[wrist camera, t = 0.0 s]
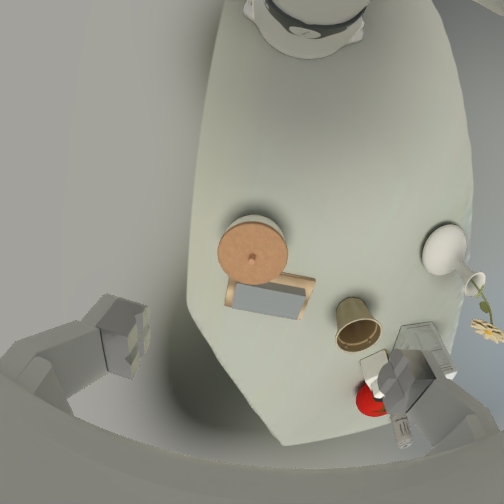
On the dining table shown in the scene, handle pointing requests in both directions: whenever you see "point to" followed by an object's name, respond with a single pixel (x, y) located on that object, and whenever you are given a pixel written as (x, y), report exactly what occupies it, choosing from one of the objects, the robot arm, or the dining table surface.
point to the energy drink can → (401, 430)
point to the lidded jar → (253, 250)
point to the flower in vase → (458, 271)
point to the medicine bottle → (374, 372)
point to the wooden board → (281, 279)
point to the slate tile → (269, 299)
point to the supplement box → (426, 344)
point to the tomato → (369, 403)
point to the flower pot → (356, 327)
